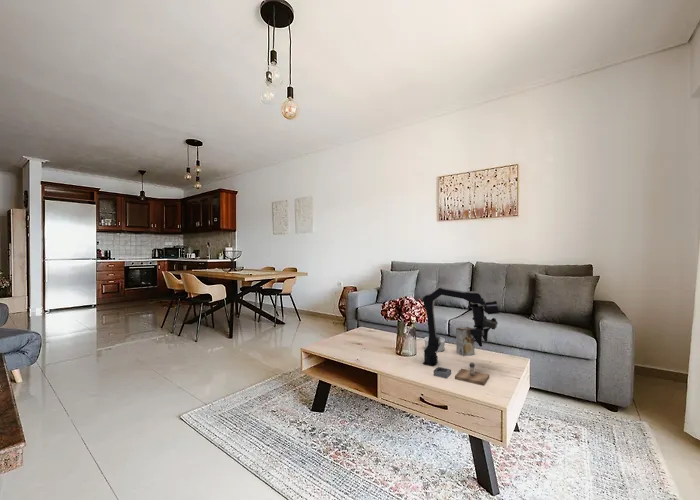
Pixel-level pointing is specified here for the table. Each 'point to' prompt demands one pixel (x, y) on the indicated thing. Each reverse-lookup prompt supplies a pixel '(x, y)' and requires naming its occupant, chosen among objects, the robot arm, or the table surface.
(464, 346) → the coffee box
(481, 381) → the square knob plate
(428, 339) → the ramekin
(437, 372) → the metal link
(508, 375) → the table surface
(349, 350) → the table surface
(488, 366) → the table surface
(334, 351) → the table surface
